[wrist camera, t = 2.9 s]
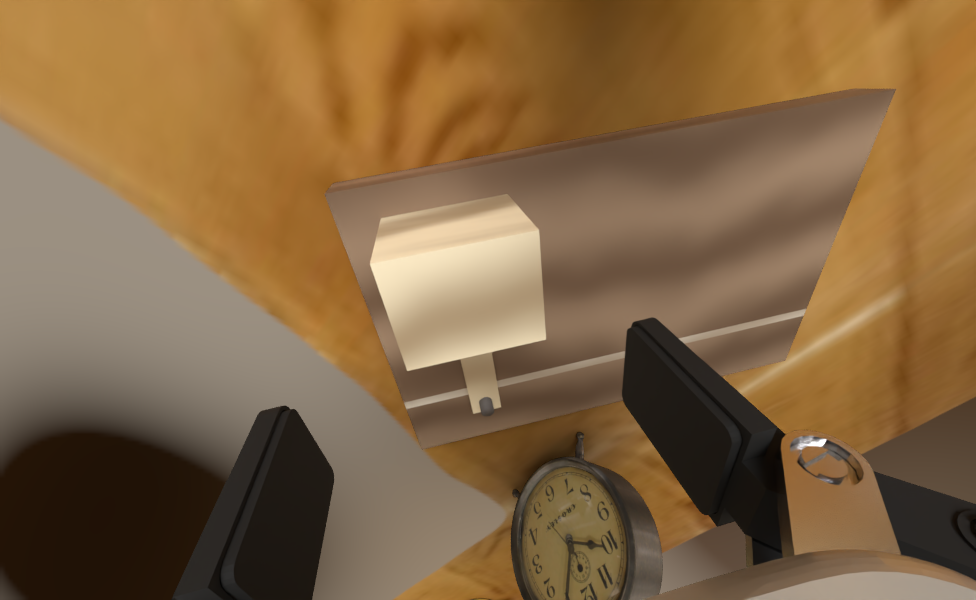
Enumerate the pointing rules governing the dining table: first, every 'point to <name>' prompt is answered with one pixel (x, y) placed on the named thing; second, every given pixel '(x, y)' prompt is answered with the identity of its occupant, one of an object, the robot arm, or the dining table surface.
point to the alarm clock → (583, 535)
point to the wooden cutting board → (637, 247)
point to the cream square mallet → (462, 287)
